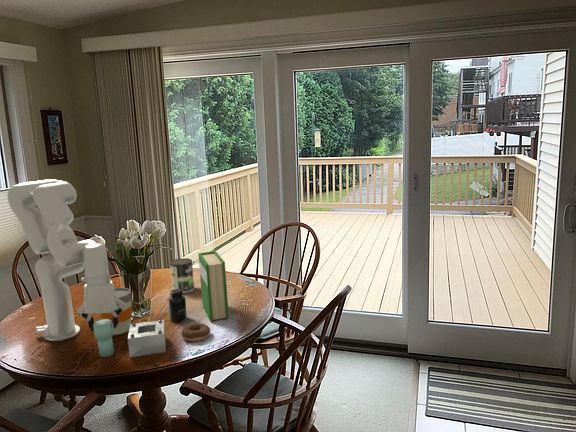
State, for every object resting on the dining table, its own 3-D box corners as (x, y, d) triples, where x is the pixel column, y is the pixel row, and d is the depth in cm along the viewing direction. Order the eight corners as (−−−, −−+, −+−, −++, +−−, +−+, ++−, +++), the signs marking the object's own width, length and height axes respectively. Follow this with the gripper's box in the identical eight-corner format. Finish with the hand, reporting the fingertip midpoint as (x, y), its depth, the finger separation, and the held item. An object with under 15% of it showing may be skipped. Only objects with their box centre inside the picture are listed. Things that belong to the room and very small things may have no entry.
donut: (177, 336, 180) (176, 326, 179) (202, 328, 186) (202, 318, 185) (189, 346, 172) (188, 336, 171) (215, 337, 178) (214, 327, 177)
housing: (129, 357, 165) (127, 336, 163) (132, 342, 176) (130, 322, 175) (165, 352, 168) (163, 331, 166) (165, 337, 179) (163, 318, 178)
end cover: (96, 359, 165) (91, 328, 162) (98, 351, 170) (93, 320, 168) (115, 356, 166) (110, 325, 164) (116, 348, 172) (111, 318, 169)
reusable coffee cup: (132, 320, 196) (128, 285, 193) (138, 331, 185) (133, 295, 182) (99, 327, 190) (95, 291, 187) (103, 339, 179) (98, 302, 176)
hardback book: (228, 319, 193) (224, 262, 188) (210, 322, 190) (206, 264, 186) (219, 303, 209) (215, 250, 204) (202, 306, 207) (198, 253, 202)
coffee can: (198, 286, 232) (195, 258, 229) (188, 294, 222) (185, 265, 219) (179, 285, 235) (176, 257, 232) (168, 292, 225) (165, 264, 222)
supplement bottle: (183, 322, 191) (180, 294, 189) (167, 321, 193) (164, 293, 190) (189, 315, 198) (187, 288, 196) (174, 314, 199) (171, 287, 197)
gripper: (68, 286, 158) (75, 336, 161) (123, 280, 162) (129, 329, 165) (72, 279, 165) (79, 327, 169) (125, 273, 169) (131, 320, 173)
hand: (104, 327), depth 167 cm, fingers open, 6 cm apart
